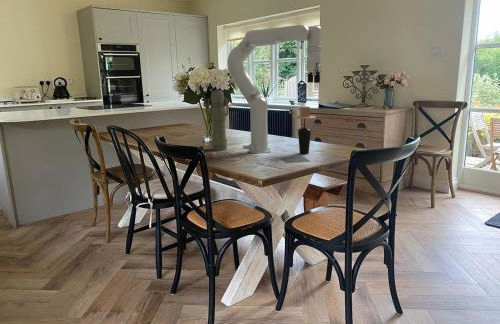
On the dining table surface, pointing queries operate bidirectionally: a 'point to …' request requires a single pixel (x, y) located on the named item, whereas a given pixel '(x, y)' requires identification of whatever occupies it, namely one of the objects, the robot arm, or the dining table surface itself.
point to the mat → (294, 159)
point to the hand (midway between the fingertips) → (313, 82)
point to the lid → (304, 113)
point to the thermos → (218, 120)
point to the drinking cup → (304, 139)
